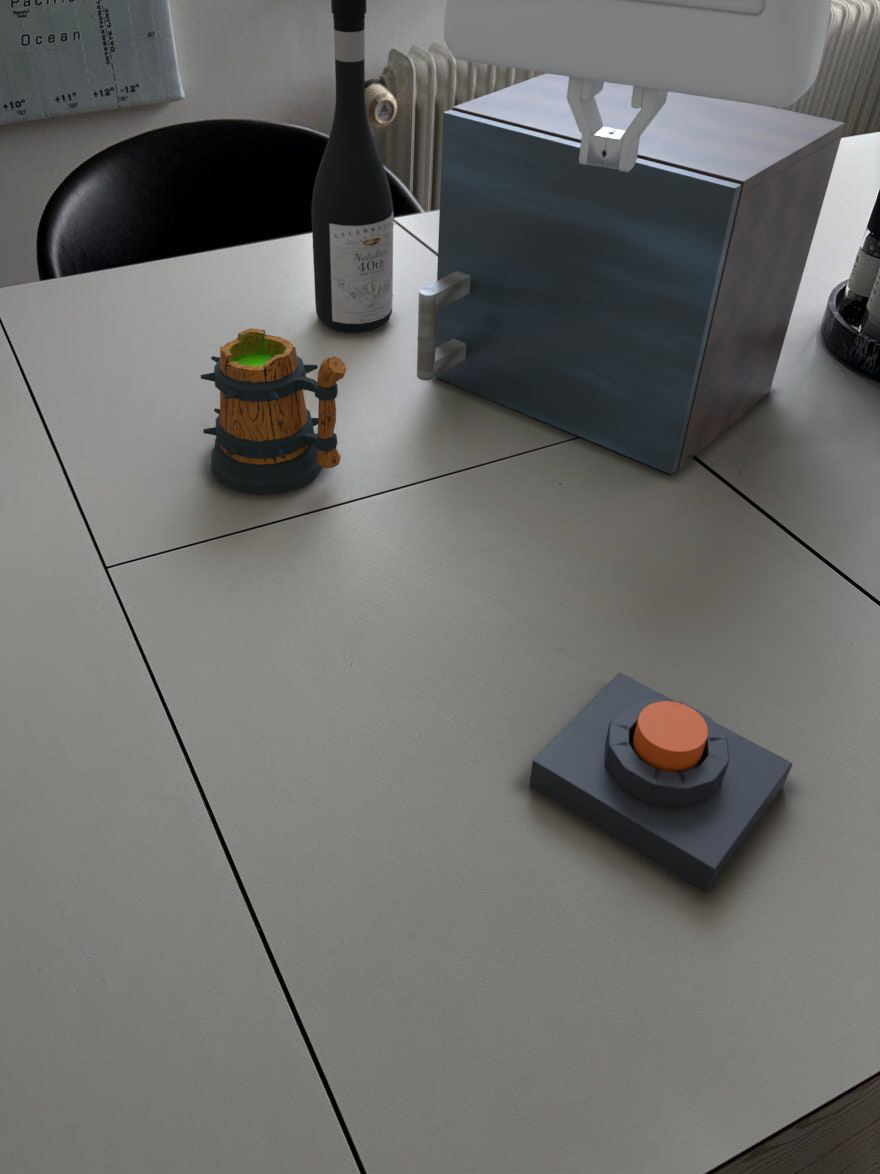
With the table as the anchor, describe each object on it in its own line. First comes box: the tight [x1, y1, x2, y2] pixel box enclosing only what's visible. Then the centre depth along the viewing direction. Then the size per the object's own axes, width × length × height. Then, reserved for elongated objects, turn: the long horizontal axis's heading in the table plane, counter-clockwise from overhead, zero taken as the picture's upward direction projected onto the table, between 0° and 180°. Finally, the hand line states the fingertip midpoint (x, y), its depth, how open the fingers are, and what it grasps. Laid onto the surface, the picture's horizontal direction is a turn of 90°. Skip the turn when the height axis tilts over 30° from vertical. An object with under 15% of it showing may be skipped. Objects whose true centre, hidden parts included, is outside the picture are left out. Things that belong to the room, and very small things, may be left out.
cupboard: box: [451, 73, 846, 471], centre depth 92 cm, size 18×26×24 cm
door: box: [416, 109, 742, 475], centre depth 85 cm, size 7×26×24 cm, turn 50°
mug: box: [200, 327, 347, 496], centre depth 85 cm, size 13×10×12 cm
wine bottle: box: [310, 0, 394, 334], centre depth 99 cm, size 8×8×30 cm
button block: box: [529, 672, 793, 893], centre depth 62 cm, size 12×10×4 cm
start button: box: [633, 701, 708, 772], centre depth 61 cm, size 4×4×2 cm
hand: (606, 165), depth 60 cm, fingers closed
